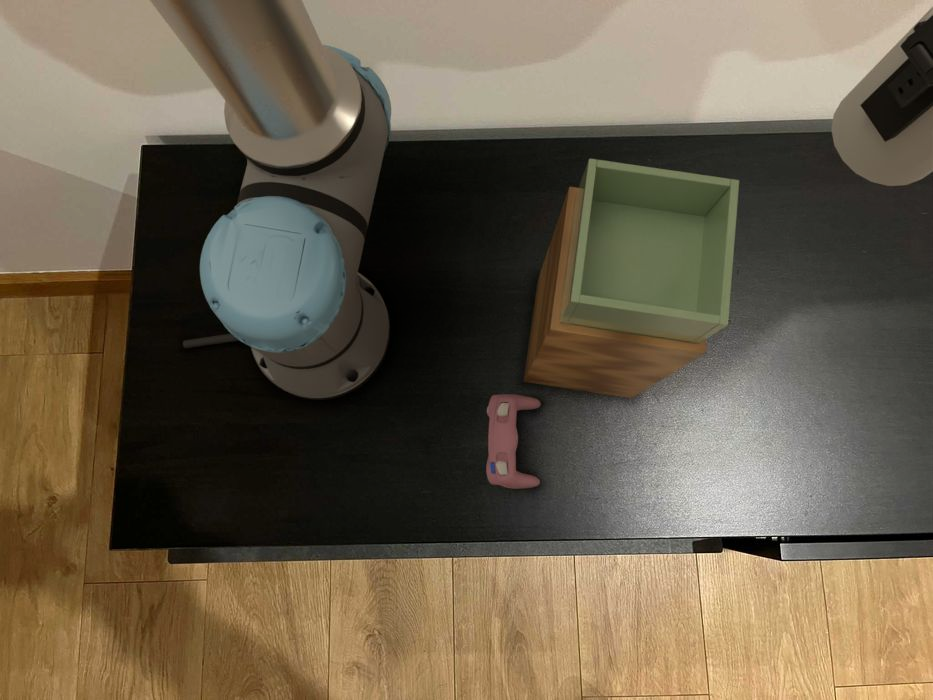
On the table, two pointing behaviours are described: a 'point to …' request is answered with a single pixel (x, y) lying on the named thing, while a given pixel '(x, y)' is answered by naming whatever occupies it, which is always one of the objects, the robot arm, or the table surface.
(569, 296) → the box
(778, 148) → the table surface
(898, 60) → the can
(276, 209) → the robot arm
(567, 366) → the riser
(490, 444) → the video game controller
